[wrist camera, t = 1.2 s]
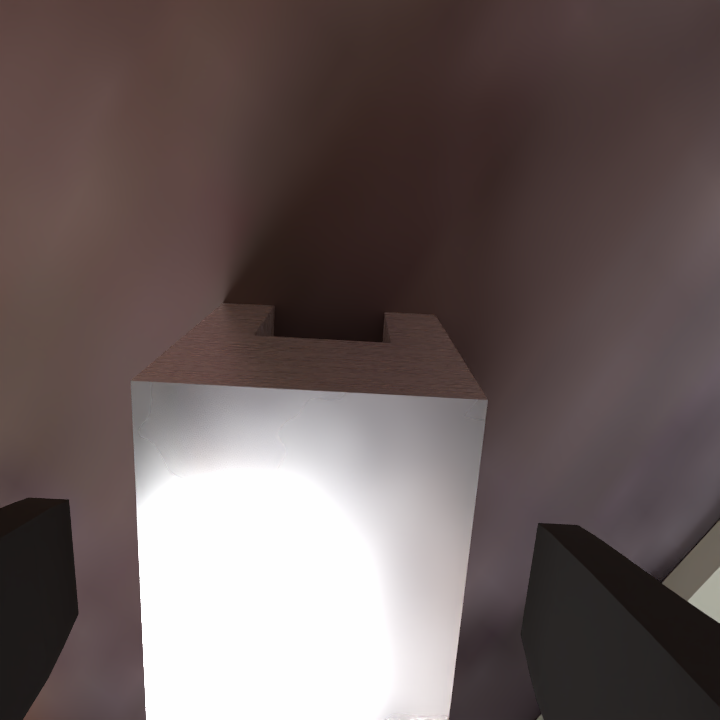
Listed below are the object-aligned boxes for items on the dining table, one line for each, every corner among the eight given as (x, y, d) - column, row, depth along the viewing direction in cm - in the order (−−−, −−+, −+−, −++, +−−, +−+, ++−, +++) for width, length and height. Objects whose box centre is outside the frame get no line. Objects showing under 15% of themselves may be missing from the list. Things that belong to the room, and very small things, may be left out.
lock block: (414, 537, 16) (446, 736, 10) (224, 528, 16) (146, 724, 10) (435, 315, 14) (487, 400, 8) (223, 302, 14) (130, 380, 8)
